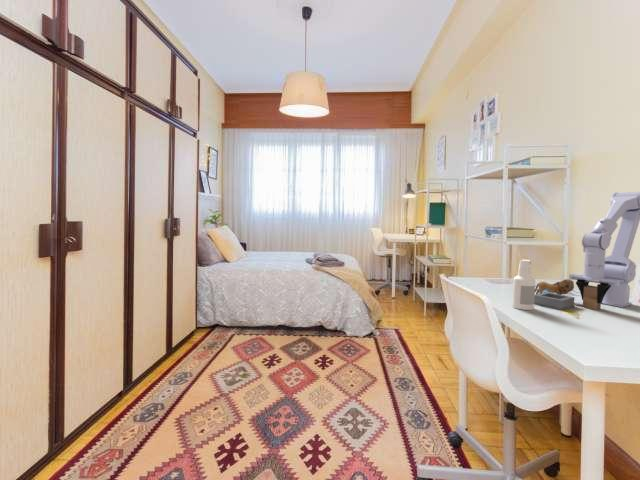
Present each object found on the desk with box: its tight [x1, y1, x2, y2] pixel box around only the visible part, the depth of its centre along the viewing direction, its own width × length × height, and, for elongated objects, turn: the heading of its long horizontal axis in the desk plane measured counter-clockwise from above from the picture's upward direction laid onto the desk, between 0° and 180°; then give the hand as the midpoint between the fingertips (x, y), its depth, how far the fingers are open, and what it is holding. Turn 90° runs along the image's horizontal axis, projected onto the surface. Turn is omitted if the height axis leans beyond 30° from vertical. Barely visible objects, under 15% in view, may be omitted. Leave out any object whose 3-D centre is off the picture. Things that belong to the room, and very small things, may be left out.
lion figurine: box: [535, 278, 575, 295], centre depth 132 cm, size 15×5×9 cm, turn 45°
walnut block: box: [582, 284, 602, 311], centre depth 119 cm, size 4×4×8 cm
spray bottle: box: [511, 259, 536, 311], centre depth 119 cm, size 7×7×18 cm
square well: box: [534, 291, 575, 311], centre depth 123 cm, size 10×10×4 cm
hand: (591, 301), depth 119 cm, fingers closed on walnut block, 4 cm apart
